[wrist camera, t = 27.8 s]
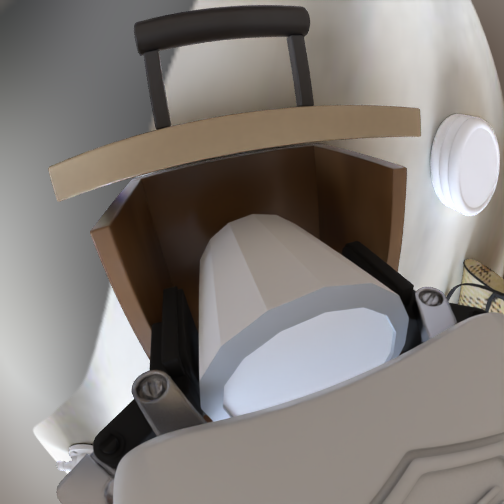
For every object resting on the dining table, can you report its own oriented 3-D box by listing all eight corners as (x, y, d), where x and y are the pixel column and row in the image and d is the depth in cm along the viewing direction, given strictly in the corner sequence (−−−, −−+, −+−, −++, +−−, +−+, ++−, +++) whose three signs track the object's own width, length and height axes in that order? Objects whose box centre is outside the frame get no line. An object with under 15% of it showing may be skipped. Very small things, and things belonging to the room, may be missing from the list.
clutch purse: (439, 268, 27) (526, 343, 14) (471, 243, 28) (553, 304, 15) (422, 381, 42) (461, 434, 29) (447, 362, 42) (487, 410, 29)
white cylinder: (200, 335, 14) (222, 452, 8) (171, 214, 11) (165, 325, 5) (319, 308, 16) (383, 400, 10) (323, 190, 12) (433, 258, 6)
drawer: (99, 68, 12) (30, 31, 4) (312, 37, 14) (402, -1, 6) (180, 345, 22) (188, 437, 14) (329, 306, 24) (381, 378, 16)
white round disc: (418, 128, 19) (447, 134, 16) (470, 103, 19) (495, 108, 16) (434, 221, 24) (458, 235, 21) (481, 184, 24) (502, 193, 21)
